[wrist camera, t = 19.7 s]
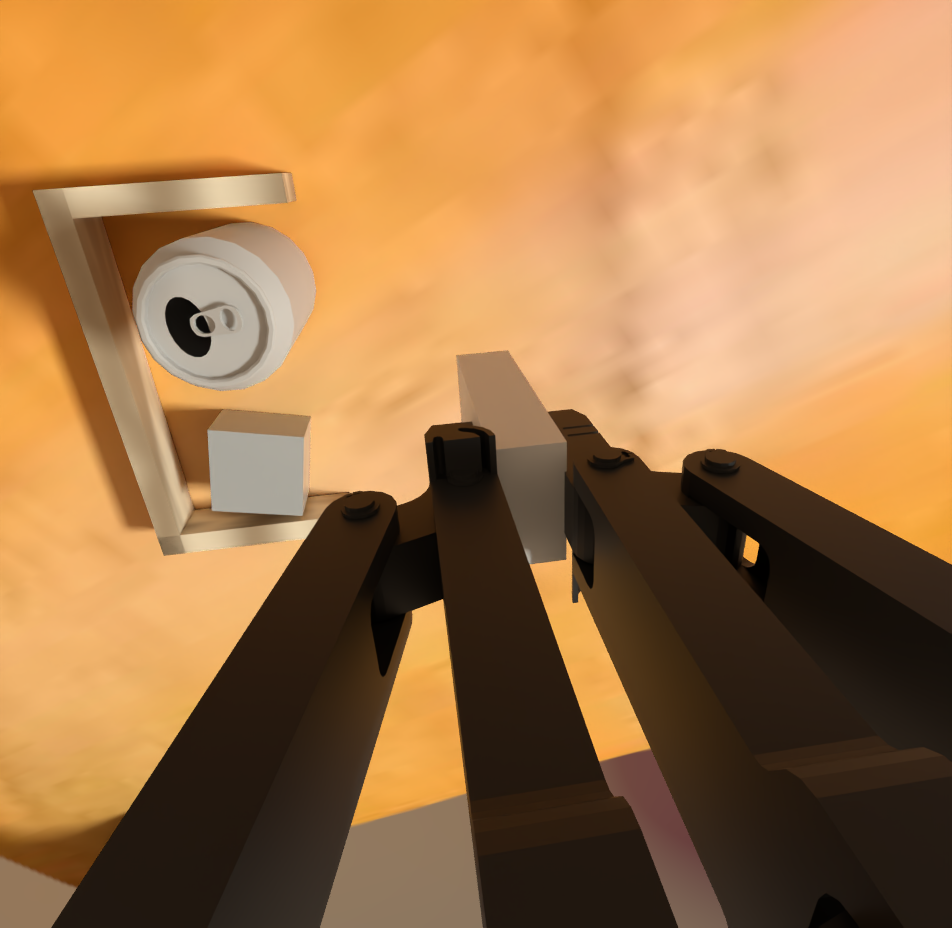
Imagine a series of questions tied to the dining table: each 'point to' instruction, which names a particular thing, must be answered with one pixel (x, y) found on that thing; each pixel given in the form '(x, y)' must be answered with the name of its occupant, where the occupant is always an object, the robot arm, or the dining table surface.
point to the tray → (124, 360)
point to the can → (224, 304)
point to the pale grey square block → (259, 462)
